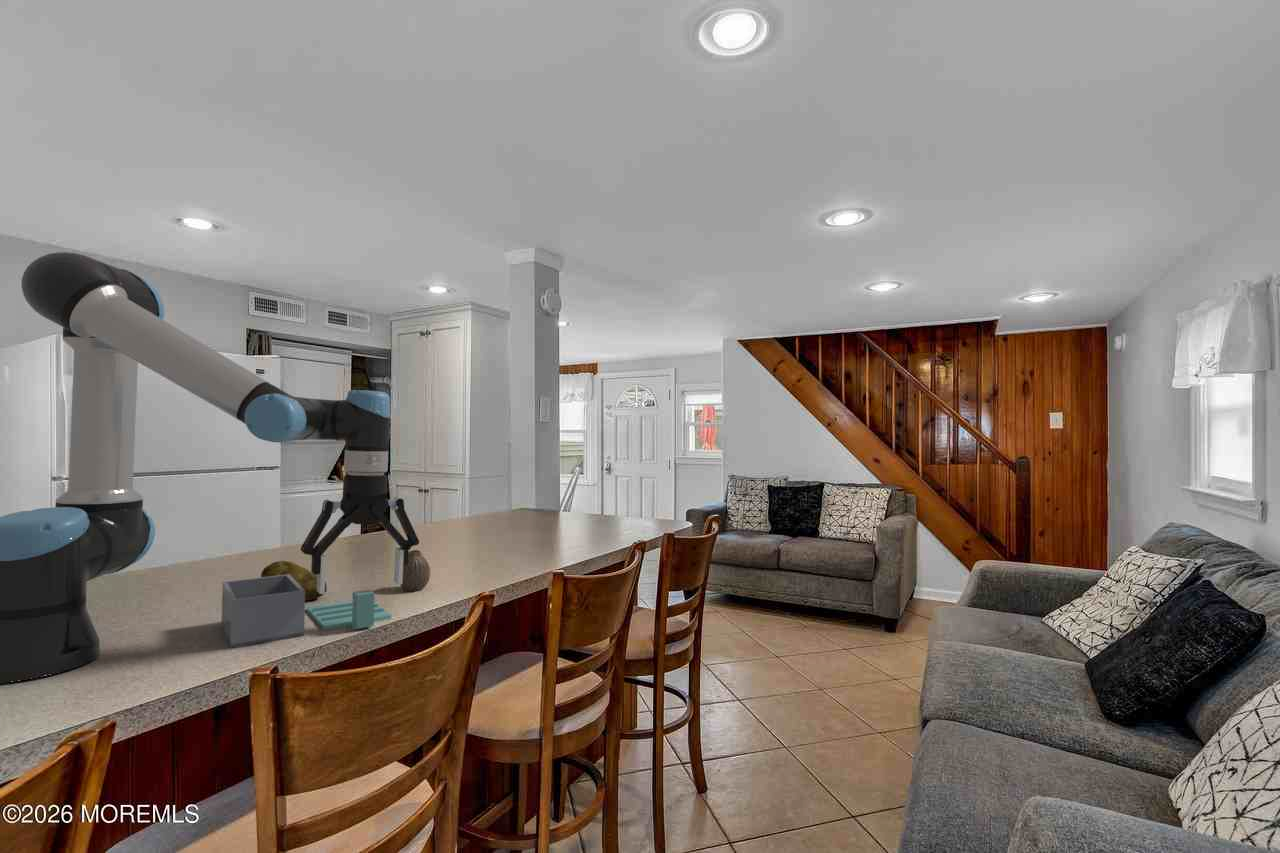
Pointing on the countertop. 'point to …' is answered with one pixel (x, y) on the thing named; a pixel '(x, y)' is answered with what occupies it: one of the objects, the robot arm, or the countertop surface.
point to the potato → (295, 577)
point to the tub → (262, 610)
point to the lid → (350, 612)
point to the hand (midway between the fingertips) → (360, 587)
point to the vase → (415, 572)
